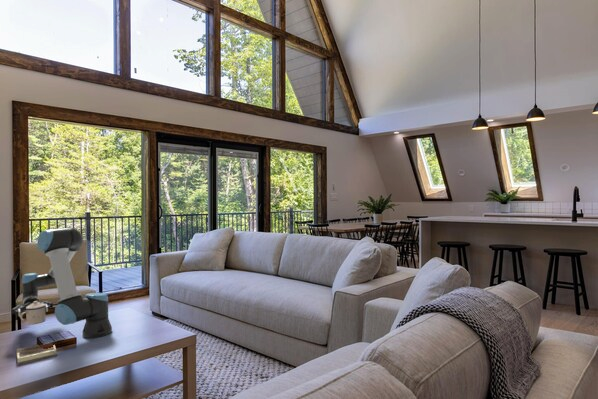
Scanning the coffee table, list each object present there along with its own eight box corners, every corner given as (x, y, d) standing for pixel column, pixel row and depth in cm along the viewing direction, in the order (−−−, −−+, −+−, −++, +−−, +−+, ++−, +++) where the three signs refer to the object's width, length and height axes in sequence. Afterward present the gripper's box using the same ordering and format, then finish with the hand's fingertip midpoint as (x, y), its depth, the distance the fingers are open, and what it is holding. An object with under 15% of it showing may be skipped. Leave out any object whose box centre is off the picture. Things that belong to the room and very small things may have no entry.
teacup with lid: (40, 318, 214) (40, 298, 214) (49, 321, 210) (48, 300, 209) (16, 325, 204) (15, 303, 204) (25, 328, 199) (24, 306, 199)
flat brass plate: (16, 351, 195) (16, 349, 195) (53, 343, 205) (52, 341, 205) (17, 364, 179) (17, 362, 179) (57, 355, 189) (57, 353, 189)
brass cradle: (17, 357, 186) (17, 353, 186) (54, 348, 195) (54, 344, 195) (17, 362, 180) (17, 358, 179) (56, 353, 189) (56, 349, 189)
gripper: (55, 305, 228) (59, 313, 211) (5, 313, 213) (5, 323, 196) (55, 293, 228) (59, 300, 211) (5, 300, 213) (5, 309, 196)
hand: (33, 311), depth 204 cm, fingers closed on teacup with lid, 11 cm apart
